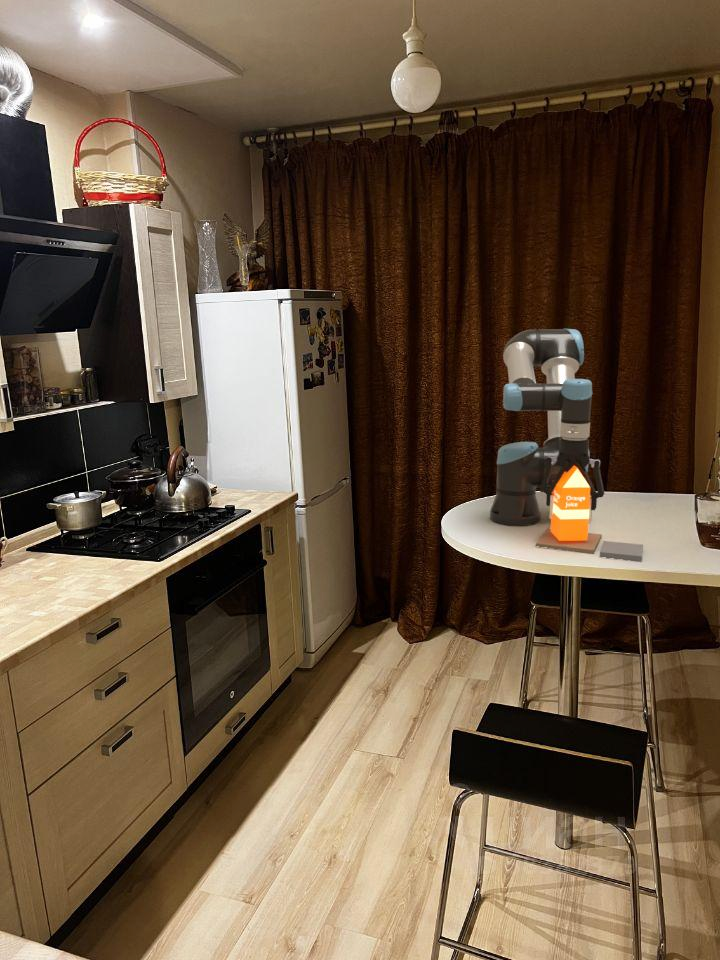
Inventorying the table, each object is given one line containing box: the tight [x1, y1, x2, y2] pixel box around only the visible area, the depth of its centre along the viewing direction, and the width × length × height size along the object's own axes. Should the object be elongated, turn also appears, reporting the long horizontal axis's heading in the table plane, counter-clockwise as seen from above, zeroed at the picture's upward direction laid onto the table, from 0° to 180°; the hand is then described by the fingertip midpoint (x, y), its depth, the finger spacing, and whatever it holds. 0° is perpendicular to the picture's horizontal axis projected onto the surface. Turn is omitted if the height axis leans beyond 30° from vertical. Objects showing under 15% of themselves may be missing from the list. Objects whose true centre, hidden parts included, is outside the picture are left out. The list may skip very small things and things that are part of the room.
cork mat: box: [535, 528, 603, 555], centre depth 200 cm, size 15×15×1 cm
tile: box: [599, 540, 644, 563], centre depth 190 cm, size 10×2×10 cm
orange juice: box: [550, 466, 591, 541], centre depth 197 cm, size 8×9×20 cm
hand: (570, 519), depth 198 cm, fingers closed on orange juice, 9 cm apart
